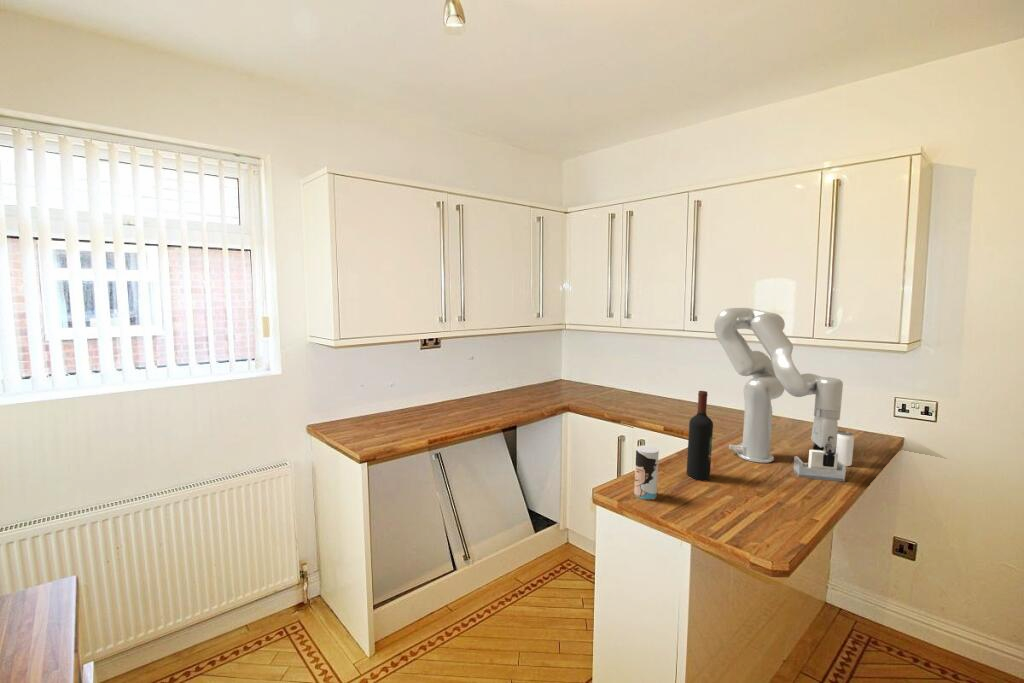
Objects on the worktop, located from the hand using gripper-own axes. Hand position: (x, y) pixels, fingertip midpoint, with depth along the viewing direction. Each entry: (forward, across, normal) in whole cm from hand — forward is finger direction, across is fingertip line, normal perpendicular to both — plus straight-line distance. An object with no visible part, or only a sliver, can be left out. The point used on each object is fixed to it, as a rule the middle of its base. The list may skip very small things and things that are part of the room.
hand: (822, 461), depth 166 cm
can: (+6, -16, +12) cm, 21 cm away
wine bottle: (+6, +12, -42) cm, 44 cm away
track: (+6, 0, -1) cm, 6 cm away
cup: (+6, +34, -60) cm, 69 cm away
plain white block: (+4, 0, 0) cm, 4 cm away
